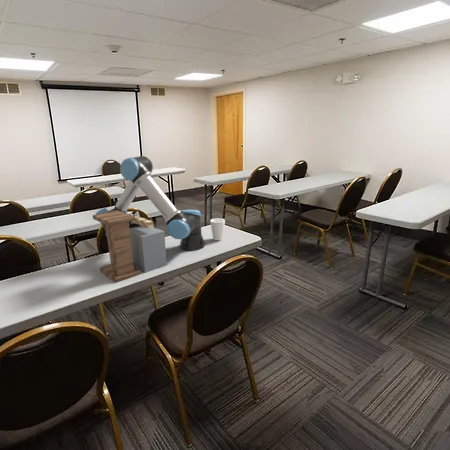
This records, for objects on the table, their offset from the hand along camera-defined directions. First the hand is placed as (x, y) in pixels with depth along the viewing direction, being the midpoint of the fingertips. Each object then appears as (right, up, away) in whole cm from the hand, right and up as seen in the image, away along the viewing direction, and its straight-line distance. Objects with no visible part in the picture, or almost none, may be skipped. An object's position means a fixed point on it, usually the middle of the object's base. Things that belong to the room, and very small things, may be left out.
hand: (135, 214), depth 170 cm
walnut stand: (-5, -30, -8) cm, 32 cm away
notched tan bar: (+3, -5, -1) cm, 6 cm away
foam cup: (+44, -15, +38) cm, 60 cm away
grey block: (+6, -27, +2) cm, 27 cm away
